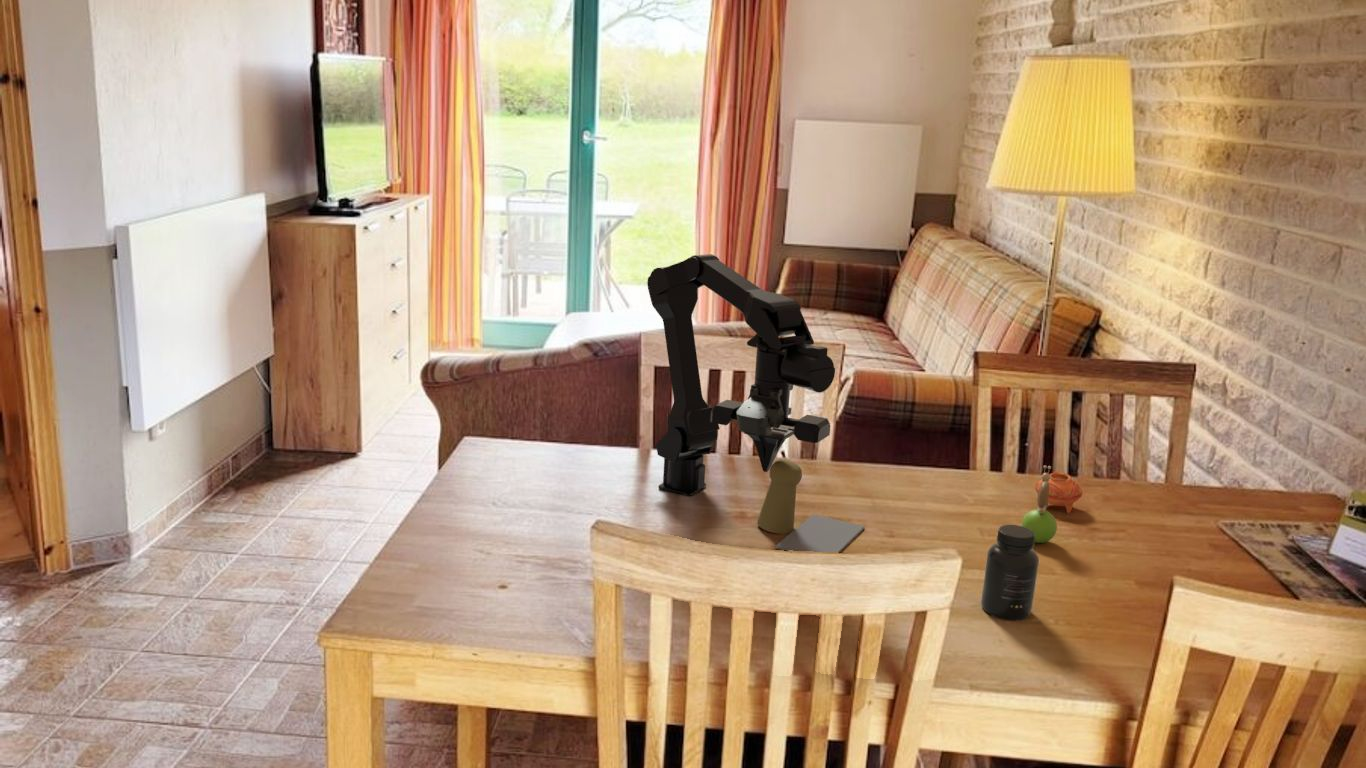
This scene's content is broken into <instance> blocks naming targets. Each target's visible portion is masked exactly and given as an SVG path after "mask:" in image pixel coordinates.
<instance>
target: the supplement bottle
mask: <svg viewBox="0 0 1366 768" xmlns="http://www.w3.org/2000/svg"><path fill="white" fill-rule="evenodd" d="M1034 537H1035V534H1034V532H1033V531H1032V530H1030V529H1028V528H1026V527H1023V526H1022V525H1017V524H1004V525H1001V526H999V528H998V530H997V537H996V543H994V544H992V545H991V546H990V547H989V548H988V550H987V555H986V556H987V557H986V563H985V570H984V577H983V586H982V594H981V602H980V603H981V607H982V608H983V610H984V612H986V613H987V614H989V615H990V616H993V617H994V618H998V619H1002V620H1006V621H1022V620H1025V619H1026V618H1029V616H1030V615H1031V613H1032V609H1033V604H1034V597H1035V596H1034V595H1035V590H1036V583H1037V576H1038V570H1039V563H1040V562H1039V561H1040V558H1039V556H1038V553H1037V552H1036V551H1035V549H1033V548H1034V547H1035V542H1034Z"/></svg>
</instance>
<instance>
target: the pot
mask: <svg viewBox="0 0 1366 768" xmlns="http://www.w3.org/2000/svg"><path fill="white" fill-rule="evenodd" d="M1049 475H1050V479H1049V498H1048V504H1050V505H1052V506H1058V507H1059V506H1060V507H1065V510H1066V514H1070V513H1071V511H1072V509H1073V505H1074V503H1076V502H1077V501H1078V500H1079V499H1080V498H1082V496H1083V489H1082V488H1081V486H1080V484H1079V483H1078V482H1077V480H1074V479H1073V478H1072V476H1071V475H1070V474H1067V473H1064V472H1058V471H1057V472H1051V473H1049ZM1041 482H1042V478H1041V479H1040V480H1039V481H1038V482H1037V483H1036V484H1035V487H1034V489H1035V491H1036V493H1037V494H1038V491H1039V487H1040V485H1041Z"/></svg>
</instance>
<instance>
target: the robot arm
mask: <svg viewBox="0 0 1366 768" xmlns="http://www.w3.org/2000/svg"><path fill="white" fill-rule="evenodd" d="M646 283H647V291H648V294H649V298H650V302H651V305H652V307H653V308H654V310H655V311H656V313H657V314H658V315H659V317H660V318H661V319H662V323H663V331H664V335H665V336H664V337H665V344H666V353H667V359H668V365H669V366H668V367H669V373H670V381H671V389H672V395H673V403H672V406H671V409H670V412H669V414H668V417H667V432H666V433H665V434H664V435H663V436H662V437H661V438H660V439H659V440H657V442H656V444H655V447H656V451H657V456H659V457H661V458H663V475H662V476H663V478H662V479H663V480H662V483H660V484H659V485H658V489H660V490H664V491H667V492H673V493H676V494H680V495H684V496H692V495H694V494H695V493H698V492H699V491H700V490H702V489H703V488H704V487H707V483H706V482H705V480H706V479H705V478H706V465H705V464H704V455H710V454H711V453H712V449H713V447H714V444H715V442H716V441H717V440H718V435H719V431H718V430H720V429H721V427H720V426H719V425H721V426H728V425H729V424H730V423H731V422H733V420H736V423H737V430H738V431H739V432H741V433H743V434H744V435H747V436H748V437H749V438H750V439H751V440H752V441H753V443H754V446H755V448H756V451H757V455H758V458H759V462H760V464H761V468H762V472H763V473H768V472H770V468H771V466H772V465H773V463H774V462H775V459H776V457H777V456H778V453H779V451H780V449H781V447H782V446H783V444H784V442H785V441H786V440H787V439H788V438H790V437H792V436H794V437H795V438H796V439H797V441H802V442H807V443H811V444H813V443H814V444H816V443H819V442H821V441H823V440H824V439H826V438H827V437H830V434H831V423H830V421H829V419H828V418H827V417H821V416H817V415H811V414H806V415H804V416H802V417H801V418H800V419H798V418H797V419H796V418H792V417H789V416H790V415H791V414H792V407H790V397H791V395H790V394H791V391H792V390H793V389H794V386H795V387H799V388H802V389H806V390H808V391H812V392H815V393H823V392H825V391H827V390H828V389H829V388H830V386H831V385H832V383H833V381H834V379H835V375H836V368H835V364H834V361H833V360H832V358H831V357H830V356H828V351H829V349H828V347H826V346H821V345H819V346H816V345H814V344H815V342H814V338H813V336H812V334H811V331H810V330H809V327H808V324H807V322H806V320H805V317H804V316H803V313H802V311H801V309H802V308H801V306H800V304H799V303H798V302H797V301H796V300H795V299H793V298H790V297H788V296H785V295H783V294H781V293H778V292H772V291H768V290H765V289H762V288H760V287H759V286H758V285H756V284H755V283H753V282H751V281H750V280H748V279H747V278H745V277H744V276H743V275H741V274H740V273H738V272H737V271H736V270H734V269H732V268H731V267H730V266H728V265H726V264H725V263H724V262H722V261H721V260H720V259H719V257H718V256H717V255H714V254H711V253H710V254H696V255H691V256H690V257H688V258H686V259H684V260H682V261H680V262H677V263H674V264H672V265H668V266H661V267H656V268H654V269H653V270H652V271H651V273H650V275H649V276H648V277H647V282H646ZM704 286H705V287H707V288H708V290H711V291H712V292H713V293H715V294H716V295H718V296H719V297H721V298H722V299H723V300H725V302H727V303H728V304H730V305H732V306H733V307H735V308H736V309H737V310H739V312H741V314H743V317H744V322H745V323H746V324H747V326H748V327H749V328H750V329H751V330H752V331H753V332H754V333H755V335H754V336H753V337H752V338H749V340H747V341H746V345H747V346H748V347H752V348H756V357H755V368H754V369H755V370H754V372H755V373H754V382H753V384H751V386H750V389H749V394H748V397H747V399H746V400H744V401H736V400H733V399H732V400H731V399H725V400H724V401H721V402H720V403H717V404H715V405H713V406H709V405H708V403H707V402H706V401H705V399H704V398H703V391H702V386H701V378H700V370H699V363H698V355H697V347H696V339H695V331H694V325H693V324H694V323H693V319H692V318H693V313H694V311H695V308H696V305H697V302H698V298H699V296H698V295H699V289H700V288H702V287H704Z"/></svg>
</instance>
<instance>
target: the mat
mask: <svg viewBox="0 0 1366 768" xmlns="http://www.w3.org/2000/svg"><path fill="white" fill-rule="evenodd" d="M864 529H865V526H864V525H860V524H856V523H852V522H848V521H843V520H839V519H835V518H831V517H826V516H822V515H819V514H814V513H812V515H810V517H808V518H807V519H806V520H805V521H804V522H802V523H801V524H799V526H798V527H796V528H795V529H794V530H793V531H792V532H790V533H788V535H787V536H785V538H783V539H782V540H781V541H780V542H779V543H777V544H776V545H775V547H777V548H775V549H777V550H780V549H781V550H780V551H784V550H793V551H814V552H840V553H841V552H842V551H843V550H844V549H845V548H846V547H847V546H848V545H849V544H850V543H851V542H853V540H854V539H856V537H858V536H859V534H860V533H862V532H863V531H864Z"/></svg>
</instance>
